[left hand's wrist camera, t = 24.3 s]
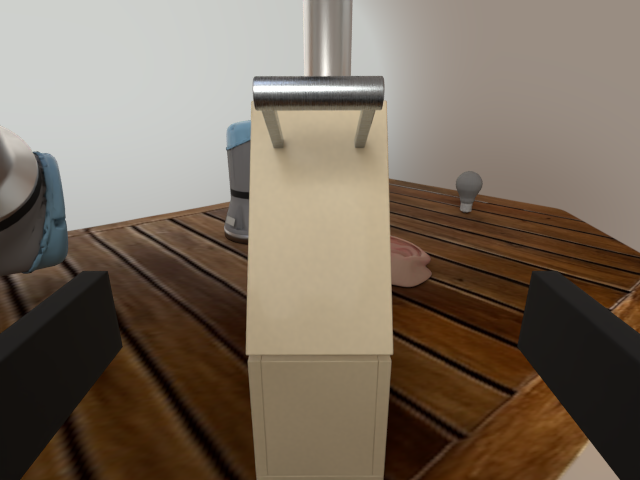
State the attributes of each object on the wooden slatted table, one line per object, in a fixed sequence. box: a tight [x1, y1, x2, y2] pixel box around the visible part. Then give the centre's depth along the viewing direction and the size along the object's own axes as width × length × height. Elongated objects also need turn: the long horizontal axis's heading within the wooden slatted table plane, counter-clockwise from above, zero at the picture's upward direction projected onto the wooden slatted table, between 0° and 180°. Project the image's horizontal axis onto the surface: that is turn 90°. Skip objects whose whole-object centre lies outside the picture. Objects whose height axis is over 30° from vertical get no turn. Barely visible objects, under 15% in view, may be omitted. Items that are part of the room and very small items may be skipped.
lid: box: [246, 76, 393, 355], centre depth 24 cm, size 17×10×9 cm
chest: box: [248, 355, 391, 480], centre depth 37 cm, size 17×10×11 cm, turn 0°
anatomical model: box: [390, 235, 432, 287], centre depth 67 cm, size 13×4×12 cm
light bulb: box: [456, 171, 482, 213], centre depth 98 cm, size 6×6×10 cm
